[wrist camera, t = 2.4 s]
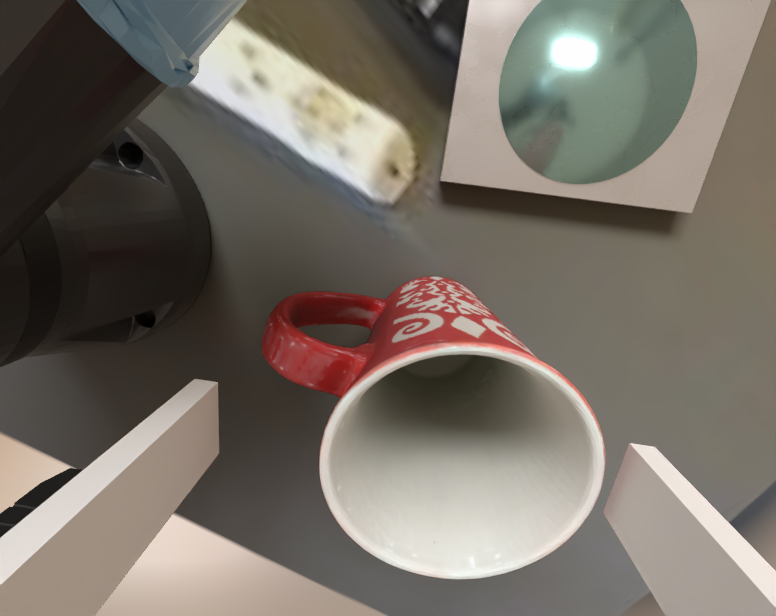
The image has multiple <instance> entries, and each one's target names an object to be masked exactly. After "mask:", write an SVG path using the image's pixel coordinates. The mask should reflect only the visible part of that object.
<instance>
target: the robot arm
mask: <svg viewBox="0 0 776 616" xmlns="http://www.w3.org/2000/svg"><path fill="white" fill-rule="evenodd" d="M246 2H247V0H0V367H2V366H4V365H7V364H9V363H12V362H14V361H17V360H19V359H22V358H24V357H29V356H38V355H46V354H55V353H63V352H71V351H80V350H88V349H96V348H105V347H113V346H119V345H124V344H127V343H131V342H134V341H137V340H140V339H142V338H144V337H146V336H149V335H150V334H152V333H154V332H156V331H158V330H160V329H162V328H164V327H166V326H168V325H169V324H171V323H173V322H174V321H176V320H177V319H178V318H179V317H181V316H182V315H183V314H184V313H185V312H186V311H187V310H188V309H189V308H190V306H191V305H192V304H193V303H194V301H195V300H196V298H197V297H198V295H199V293H200V291H201V289H202V287H203V284H204V282H205V279H206V276H207V272H208V267H209V261H210V231H209V224H208V219H207V215H206V211H205V208H204V205H203V202H202V199H201V196H200V194H199V192H198V189H197V187H196V185H195V183H194V181H193V179H192V177H191V176H190V174H189V172H188V170H187V169H186V167H185V166H184V164H183V163H182V162H181V160H180V159H179V158H178V156H177V155H176V154H175V152H174V151H173V150H172V149H171V148H170V147H169V145H168V144H167V143H166V142H165V141H164V140H163V139H162V138H161V137H160V136H158V135H157V134H156V133H155V132H154V131H153V130H152V129H150V128H149V127H148V126H147V125H145V124H144V123H142V122H141V121H140V120H138V119H137V118H136V117H137V116H138V115H139V114H140V113H141V112H142V111H143V110H144V109H145V108H146V107H147V106H148V105H149V104H150V103H151V102H152V101H153V100H154V99H155V98H156V97H157V96H158V95H159V94H160V93H161V92H162V91H163V90H164V89H165V88H166V87H167V86H170V87H181V88H183V87H185V86H186V85H187V84H188V83H189V82H191V81H192V80H193V79H194V78H195V76H196V75H197V73H198V69H199V56H200V55H201V54H202V53H203V52H204V51H205V49H206V48H207V47H208V46H209V45H210V44H211V42H212V41H213V40H214V39H215V38H216V37H217V35H218V34H219V33H220V32H221V31H222V30H223V28H224V27H225V26H226V25H227V24H228V23H229V21H230V20H231V19H232V18H233V17H234V16H235V14H236V13H237V12H238V11H239V10H240V9H241V7H242V6H243V5H244V4H245V3H246ZM218 454H219V412H218V382H213V381H206V380H199V379H194V380H193V381H191V382H190V383H189V384H188V385H187V386H185V387H184V388H183V389H182V390H180V391H179V392H178V393H177V394H176V395H174V396H173V397H172V398H171V399H169V400H168V401H167V402H166V403H165V404H163V405H162V406H161V407H160V408H158V409H157V410H156V411H155V412H154V413H152V414H151V415H150V416H149V417H147V418H146V419H145V420H144V421H143V422H141V423H140V424H139V425H138V426H136V427H135V428H134V429H133V430H132V431H130V432H129V433H128V434H127V435H125V436H124V437H123V438H122V439H121V440H119V441H118V442H117V443H116V444H114V445H113V446H112V447H111V448H110V449H108V450H107V451H106V452H105V453H103V454H102V455H101V456H100V457H99V458H97V459H96V460H95V461H94V462H92V463H91V464H90V465H89V466H88V467H86V468H85V469H84V470H79V469H73V468H70V469H68V470H66V471H64V472H62V473H60V474H58V475H56V476H54V477H52V478H50V479H48V480H46V481H44V482H42V483H40V484H39V485H38V486H36V487H35V488H34V489H32V490H31V491H30V492H28V493H27V494H26V495H24V496H23V497H22V498H20V499H19V500H18V501H17V502H15V504H14V506H13V507H9V508H7V509H6V510H5V511H3V512H2V513H1V514H0V616H95V614H96V613H97V612H98V610H99V609H100V608H101V607H102V605H103V604H104V603H105V601H106V600H107V599H108V597H109V596H110V595H111V593H112V592H113V591H114V590H115V588H116V587H117V586H118V584H119V583H120V582H121V581H122V579H123V578H124V577H125V575H126V574H127V573H128V571H129V570H130V569H131V567H132V566H133V565H134V564H135V562H136V561H137V559H138V558H139V557H140V556H141V554H142V553H143V552H144V551H145V549H146V548H147V547H148V545H149V544H150V543H151V541H152V540H153V539H154V538H155V536H156V535H157V533H158V532H159V531H160V530H161V528H162V527H163V526H164V525H165V523H166V522H167V521H168V519H169V518H170V517H171V515H172V514H173V513H174V511H175V510H176V509H177V508H178V506H179V505H180V504H181V502H182V501H183V500H184V498H185V497H186V496H187V495H188V493H189V492H190V491H191V489H192V488H193V487H194V485H195V484H196V483H197V481H198V480H199V479H200V478H201V476H202V475H203V474H204V472H205V471H206V470H207V468H208V467H209V466H210V465H211V463H212V462H213V461H214V459H215V458H216V457H217V455H218ZM603 513H604V515H605V516H606V518H607V520H608V521H609V523H610V525H611V526H612V528H613V530H614V531H615V533H616V535H617V536H618V538H619V540H620V541H621V543H622V545H623V546H624V548H625V549H626V551H627V553H628V554H629V556H630V558H631V559H632V561H633V563H634V564H635V566H636V568H637V569H638V571H639V573H640V574H641V576H642V578H643V579H644V581H645V582H646V584H647V586H648V587H649V589H650V591H651V592H652V594H653V596H654V597H655V599H656V600H657V602H658V604H659V606H660V607H661V609H662V610H663V612H664V614H665V615H666V616H776V571H775V570H774V569H773V568H772V567H771V566H770V565H769V564H768V563H767V562H766V561H765V560H764V559H763V558H762V557H761V556H760V555H759V554H758V553H757V552H756V550H755V549H754V548H753V547H752V546H751V545H750V544H749V543H747V541H746V540H745V539H744V538H743V537H742V536H741V535H740V534H739V533H738V532H737V531H736V530H735V529H734V528H733V527H732V526H731V525H730V524H729V523H728V522H727V521H726V520H725V519H724V518H723V517H722V516H721V515H720V514H719V513H718V511H717V510H716V509H715V508H714V507H713V506H712V505H711V504H710V503H709V502H708V501H707V500H706V499H705V498H704V497H703V496H702V495H701V494H700V493H699V492H698V491H697V490H696V489H695V488H694V487H693V486H692V485H691V484H690V483H689V482H688V481H687V480H686V479H685V478H684V477H683V476H682V475H681V474H680V473H679V471H678V470H677V469H676V468H675V467H674V466H673V465H672V464H671V463H670V462H669V461H668V460H667V459H666V458H665V457H664V456H663V455H662V454H661V453H660V452H659V451H658V450H657V449H656V448H655V447H652V446H645V445H638V444H631V443H630V444H629V446H628V449H627V451H626V454H625V457H624V459H623V462H622V464H621V467H620V469H619V472H618V475H617V477H616V480H615V482H614V485H613V488H612V490H611V493H610V495H609V498H608V500H607V503H606V506H605V508H604V511H603Z"/></svg>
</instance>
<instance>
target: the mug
mask: <svg viewBox="0 0 776 616" xmlns="http://www.w3.org/2000/svg"><path fill="white" fill-rule="evenodd" d="M323 324H352V325H360V326H364V327H367V328H369V329H370V330H371V335H370V337H369V339H368V342H367V344H362V345H359V346H357V347H354V348H347V347H340V346H335V345H331V344H328V343H325V342H322V341H319V340H317V339H315V338H312V337H310V336H308V335H306V334H305V333H303V332H302V331H300V330H299V329H297V327H302V326H310V325H323ZM262 351H263V356H264V357H265V359H266V360H267V362H268V363H269V364H270V365H271V366H272V367H273V368H274V370H276V371H277V372H278V373H279V374H281V375H282V376H283V377H285V378H287V379H288V380H290V381H292V382H294V383H297V384H300V385H302V386H304V387H307V388H310V389H314V390H318V391H323V392H327V393H330V394H334V395H336V396H338V397H340V400H339V402H338V403H337V405H336V406H335V408H334V411H333V412H332V414H331V415H330V417H329V420H328V422H327V425H326V427H325V430H324V434H323V438H322V442H321V447H320V455H319V473H320V480H321V488H322V490H323V493H324V497H325V499H326V502H327V504H328V506H329V508H330V510H331V512H332V514H333V516H334V517H335V519H336V520H337V522H338V523H339V525H340V526H341V528H342V529H343V530H344V531H345V532H346V533H347V534H348V535H349V536H350V537H351V538H352V539H353V540H354V541H355V542H356V543H357V544H358V545H360V546H361V547H362V548H363V549H364V550H366V551H367V552H369V553H370V554H372V555H374V556H375V557H377V558H378V559H380V560H382V561H384V562H386V563H388V564H390V565H393V566H395V567H397V568H400V569H403V570H406V571H409V572H412V573H416V574H420V575H424V576H430V577H436V578H443V579H476V578H485V577H490V576H494V575H499V574H503V573H507V572H510V571H513V570H516V569H519V568H522V567H524V566H526V565H529V564H531V563H533V562H535V561H537V560H539V559H541V558H543V557H545V556H546V555H548V554H550V553H551V552H553V551H554V550H556V549H557V548H558V547H560V546H561V545H562V544H564V543H565V542H566V541H567V540H568V539H569V538H570V537H571V536H572V535H573V534H574V533H575V532H576V531H577V529H578V528H579V527H580V526H581V525H582V523H583V522H584V521H585V519H586V518H587V516H588V515H589V513H590V512H591V510H592V509H593V507H594V504H595V502H596V500H597V498H598V495H599V493H600V490H601V486H602V482H603V477H604V471H605V460H606V456H605V445H604V442H603V436H602V433H601V430H600V427H599V424H598V421H597V419H596V417H595V415H594V413H593V411H592V409H591V407H590V405H589V404H588V402H587V401H586V399H585V398H584V396H583V395H582V394H581V393H580V392H579V390H578V389H577V388H576V387H575V386H574V385H573V384H572V383H571V382H570V381H569V380H568V379H567V378H566V377H564V376H563V375H562V374H560V373H559V372H558V371H557V370H555V369H554V368H552V367H551V366H549V365H548V364H546V363H545V362H543V361H541V360H539V359H537V358H536V357H535V355H534V354H533V353H532V352H531V351H530V350H529V349H528V348H527V347H526V346H525V345H524V344H523V343H522V342H521V341H520V340H519V339H518V338H517V337H516V336H515V335H514V334H512V333H511V332H510V331H509V330H508V329H507V328H506V327H505V326H504V325H503V324H502V323H501V322H500V320H499V319H498V318H497V317H496V316H495V315H494V314H493V313H492V312H491V311H490V310H489V309H488V308H487V307H486V306H485V305H484V304H483V303H482V302H481V301H480V300H479V299H478V298H477V296H476V295H475V294H474V293H473V292H472V291H470V290H469V289H468V288H467V287H465V286H464V285H462V284H460V283H458V282H456V281H454V280H451V279H448V278H443V277H431V276H430V277H421V278H417V279H414V280H411V281H409V282H406V283H405V284H403V285H401V286H400V287H398V288H397V289H396V290H395V291H393V292H392V293H391V294H390V296H389V297H388V298H387V299H380V298H373V297H368V296H363V295H356V294H348V293H337V292H318V291H316V292H305V293H298V294H294V295H292V296H289V297H287V298H285V299H284V300H282V301H281V302H280V303H279V304H278V305H276V307H275V308H274V309H273V311H272V312H271V314H270V316H269V318H268V321H267V324H266V327H265V330H264V333H263V337H262Z"/></svg>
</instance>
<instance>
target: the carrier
mask: <svg viewBox="0 0 776 616" xmlns="http://www.w3.org/2000/svg"><path fill="white" fill-rule="evenodd" d="M770 1H771V0H468V3H467V9H466V16H465V22H464V28H463V35H462V41H461V47H460V53H459V60H458V66H457V72H456V79H455V85H454V91H453V98H452V104H451V110H450V117H449V123H448V129H447V135H446V142H445V148H444V154H443V161H442V167H441V173H440V180H439V182H447V183H455V184H462V185H470V186H478V187H486V188H493V189H501V190H509V191H517V192H524V193H532V194H540V195H547V196H555V197H563V198H571V199H578V200H586V201H594V202H601V203H609V204H617V205H625V206H632V207H640V208H648V209H655V210H663V211H671V212H681V213H692V211H693V209H694V206H695V203H696V201H697V198H698V195H699V193H700V190H701V187H702V184H703V182H704V179H705V176H706V174H707V171H708V168H709V166H710V163H711V160H712V158H713V155H714V152H715V149H716V147H717V144H718V141H719V139H720V136H721V133H722V131H723V128H724V125H725V122H726V120H727V117H728V114H729V112H730V109H731V106H732V104H733V101H734V98H735V95H736V93H737V90H738V87H739V85H740V82H741V79H742V77H743V74H744V71H745V68H746V66H747V63H748V60H749V58H750V55H751V52H752V50H753V47H754V44H755V42H756V39H757V36H758V33H759V31H760V28H761V25H762V23H763V20H764V17H765V15H766V12H767V9H768V6H769V4H770Z"/></svg>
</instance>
